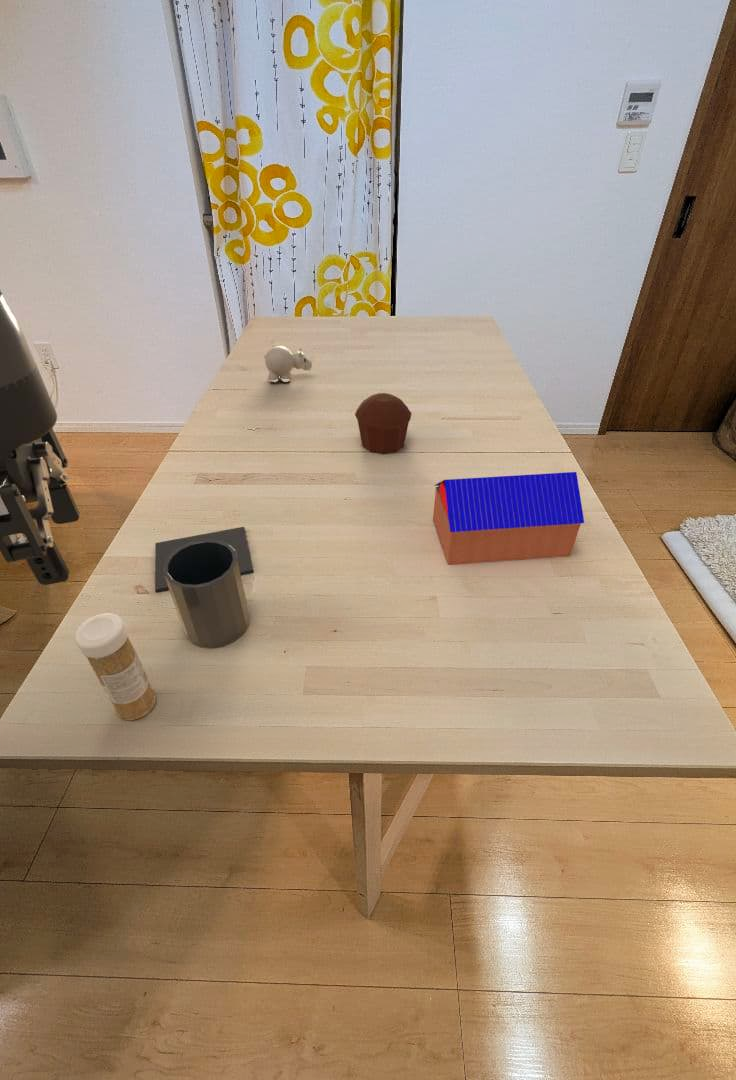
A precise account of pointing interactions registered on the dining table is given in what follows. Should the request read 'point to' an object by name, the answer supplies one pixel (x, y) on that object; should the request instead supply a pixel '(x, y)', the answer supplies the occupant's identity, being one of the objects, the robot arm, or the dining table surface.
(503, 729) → the dining table surface
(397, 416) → the muffin
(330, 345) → the dining table surface
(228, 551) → the cup
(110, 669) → the sprinkles bottle
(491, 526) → the house
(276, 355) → the chubby cartoon animal
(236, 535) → the mat
